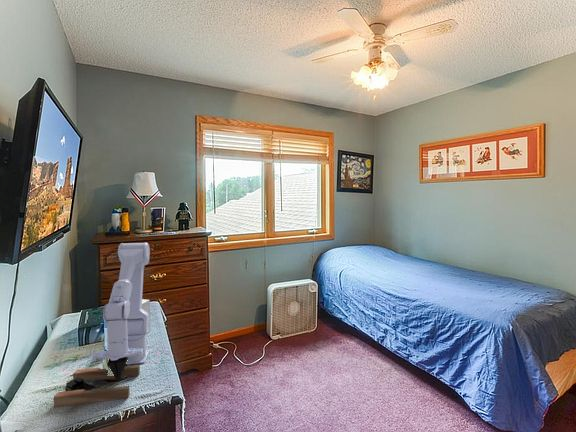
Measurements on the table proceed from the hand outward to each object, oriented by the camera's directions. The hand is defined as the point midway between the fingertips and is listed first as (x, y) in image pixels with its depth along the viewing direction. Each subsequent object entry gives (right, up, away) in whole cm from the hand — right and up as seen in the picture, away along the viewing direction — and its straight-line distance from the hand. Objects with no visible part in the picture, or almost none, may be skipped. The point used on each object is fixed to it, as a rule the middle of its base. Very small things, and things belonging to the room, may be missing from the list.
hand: (119, 379), depth 100 cm
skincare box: (-12, 0, +37) cm, 39 cm away
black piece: (-12, -3, -3) cm, 13 cm away
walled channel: (-5, -3, -1) cm, 6 cm away
